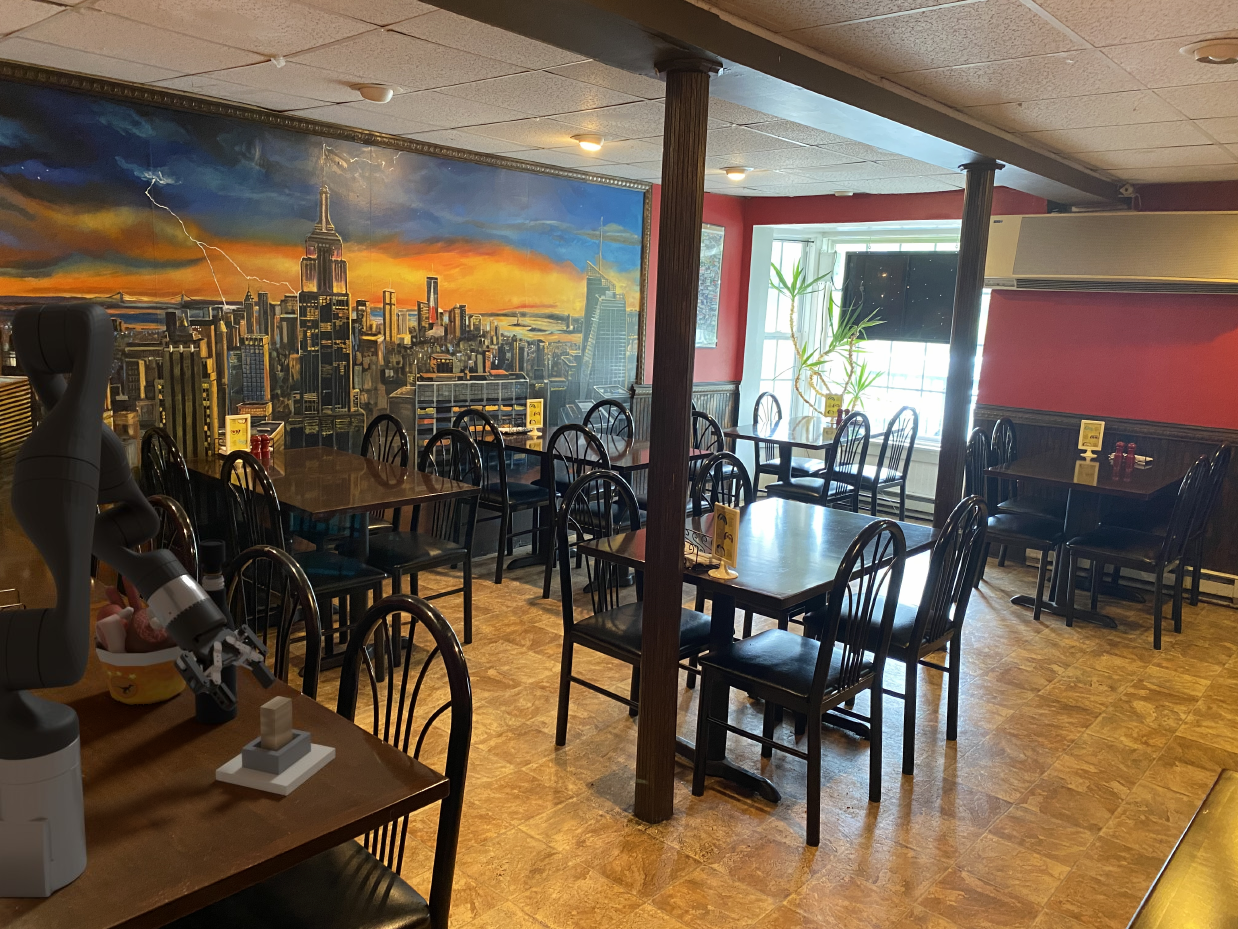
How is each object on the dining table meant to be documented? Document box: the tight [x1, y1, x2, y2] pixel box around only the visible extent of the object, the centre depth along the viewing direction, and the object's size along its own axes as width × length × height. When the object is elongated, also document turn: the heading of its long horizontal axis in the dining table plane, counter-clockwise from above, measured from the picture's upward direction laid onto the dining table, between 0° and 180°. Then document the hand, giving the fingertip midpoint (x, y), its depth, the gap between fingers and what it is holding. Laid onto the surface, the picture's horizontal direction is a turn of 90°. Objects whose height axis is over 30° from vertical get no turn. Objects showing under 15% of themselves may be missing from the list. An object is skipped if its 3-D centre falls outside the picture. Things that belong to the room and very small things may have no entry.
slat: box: [259, 695, 293, 752], centre depth 136 cm, size 2×4×9 cm, turn 164°
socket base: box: [215, 728, 336, 797], centre depth 137 cm, size 12×12×4 cm
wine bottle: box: [194, 539, 238, 725], centre depth 150 cm, size 6×6×30 cm
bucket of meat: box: [93, 575, 188, 706], centre depth 159 cm, size 20×16×20 cm
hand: (252, 696), depth 137 cm, fingers open, 8 cm apart
